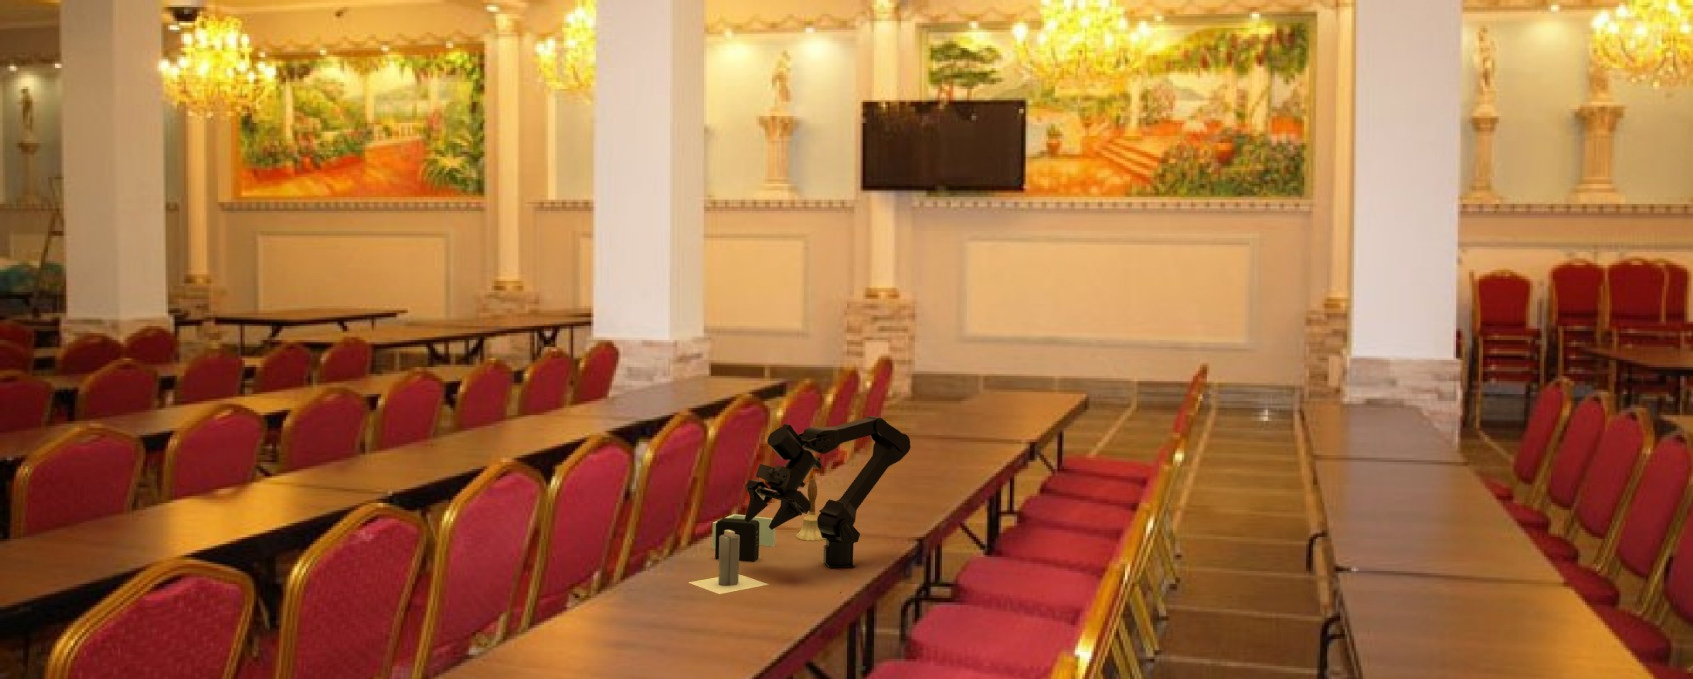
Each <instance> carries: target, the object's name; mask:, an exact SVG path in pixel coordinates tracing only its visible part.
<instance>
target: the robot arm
mask: <svg viewBox="0 0 1693 679" xmlns="http://www.w3.org/2000/svg"><path fill="white" fill-rule="evenodd" d="M868 436H870V439H871V440H872V441H873V442H874V444H873V446H872V455H871V457H870V458H869V459H868V460H867V462H866V464H864V466H863V468H862V469H861V470H860V472H859V473H858V474H857V476H856V477H855V478H854V479H853V481H852V482H851V484H850V485H849V487H847V489H846V491H845V492H843V494H842V496H841V497H840V498H839V499H837V500H834V499H828V500H826V502H825V504H824V505H823V507H822V508H821V509H820V510H819V511H818V512H819V514H818V518H817V521H818V523H817V525H818V528H819V530H820V533H821V536H822V538H826V539H825V544H824V545H823V558H822V559H823V560H822V561H823V563H824V564H825V565H826V566H827V567H828V568H829V569H836V568H837V569H839V568H840V569H841V568H855V567H856V564H855V563H854V544H855V543H858V542H859V540H860V536H861V533H860V532H859V531H858V529H856V527H855V526H854V525H855V522H856V517H857V511H858V509H859V507H860V506H861V505H862V503H863V502H865V499H866V498H867V497H868V496H869V494H870V493H871V492H872V490H873V488H874V487H875V486H876V484H877V483H878V482H879V481H880V479H881V478H882V476H883V475H884V474H885V472H886V471H887V469H888V468H890V467H892V466H893V465H895V464H896V463H898V462H900V461H901V460H903V459H904V457H906V455H908V453H909V452H910V451H911V447H912V446H911V441H910V440H911V439H910V437H909V435H908V434H907V433H904V432H901V430H899V429H897V428H895V426H893V425H891V424H889V423H888V422H887V421H886V420H885V419H883V418H882V417H878V416H873V415H869V416H865V418H861V419H857V420H854V421H849V422H845V423H842V424H839V425H838V424H837V425H836V426H809V427H807V428H805V429H804V430H803V432H800V433H797V432H796V431H795V429H794V427H792V425H791V424H790V423H789V424H788V423H784V424H783V425H782V427H781V426H780V427H779V428H776V429H775V430H773V432H770V434H769V435H768V437H767V444H768V446H769V447H770V448H771V449H772V450H773V451H774V453H776V454H777V456H779V458H780V459H781V460H783V461H787V462H786V463H785V465H784V466H783V465H779V464H777V465H776V466H775V467H773V466H770V465H767V464H763V463H759V464H758V467H757V470H756V473H755V478H758V479H755V478H754V479H749V480H748V481H747V483H746V484H745V486H744V487H745V488H746V492H747V493H748V494H749V502H748V505H747V509H746V513H745V515H746V516H745V519H744V520H745V521H746V522H749V521H750V520H752V519H753V518H754V517H757V516H758V515H759V514H760V513H761V512H762V511H763V510H764V509H765V508H767V507H768V505H769V504H768V503H769V502H771V500H772V499H775V500H778V501H780V507H779V508H778V509H777V511H776V513H775V514H774V517H773V519H772V521H771V523H770V525H769V528H770V529H771V530H773V529H774V528H775V529H776V528H778V527H780V526H781V525H783V524H785V523H786V522H789V521H790V520H793V519H795V518H796V517H799V516H800V517H801V516H802V515H803V514H805V515H808V514H809V510H810V508H811V502H810V501H809V498H807V496H806V495H805V494H804V493H803V491H801V490H798V489H799V488H803V489H804V487H805V485H806V483H805V482H804V481H805V479H806V478H807V476H808V475H809V474H810V472H811V471H812V469H818V470H821V469H822V461H821V457H820V456H815V455H814V454H813V453H816V454H821V455H826V454H829V453H831V452H832V451H834V450H836V449H837V448H838V447H839V446H840V445H841V444H844V443H846V442H850V441H854V440H858V439H861V438H865V437H868ZM812 452H813V453H812ZM759 479H762V480H765V482H764V481H762V480H759ZM766 484H767V485H766ZM768 486H769V487H768Z"/></svg>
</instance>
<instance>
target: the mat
mask: <svg viewBox="0 0 1693 679" xmlns="http://www.w3.org/2000/svg"><path fill="white" fill-rule="evenodd" d="M718 577H719V576H716V577H712V578H706V579H701V580H693V581H689V582H688V584H690V585H694V586H696V587H699V588H701V589H703V590H706V591H708V592H712V593H715V594H717V595H722V594H727V593H732V592H737V591H738V592H739V591H743V590H748V589H753V588H758V587H764V586H769V585H770V584H769V583H765V582H763V581H760V580H757V579H753V578H751V577H748V576H745V575H742V574H740V573H739V583H738V584H737V585H733V586H721V585H719V584H718Z"/></svg>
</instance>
